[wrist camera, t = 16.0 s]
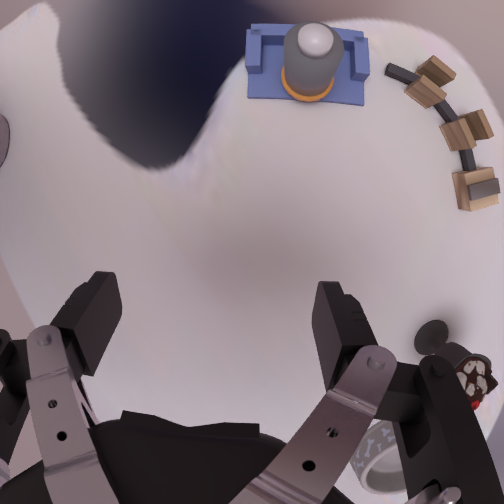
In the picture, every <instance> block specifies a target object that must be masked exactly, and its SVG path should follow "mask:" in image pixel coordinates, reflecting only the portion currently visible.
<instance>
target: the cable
mask: <svg viewBox="0 0 504 504" xmlns="http://www.w3.org/2000/svg"><path fill="white" fill-rule="evenodd" d="M385 74H386V75H388V76H391V77H393V78H395V79H398V80H400V81H402V82H405V83H407V84H409V85H410V84H411V83H412V82H414V81H415V80H416V79H418V78H419V77H421V76H419V75H417V74H415V73H413V72H410V71H408V70H406V69H404V68H401V67H399V66H397V65H394V64H392V63H389V64H388V65H387V67H386V71H385ZM434 106H435V107H436V108H437V110H438V111H439V112H440V114H441V115H442V116H443V118H444V119H445V120H446V122H447V123H449V122H452V121H455V120H459V118H458V116H457V115H456V113H455V112H454V111H453V109H452V108H451V107H450V105H449V104H448V103H447V102H446V100H445V99H444V100H443V101H441V102H439V103H437V104H435V105H434ZM460 153H461V157H462V162H463V166H464V171H472V170H477V169H476V165H475V160H474V156H473V151H472V149H464V150H460Z"/></svg>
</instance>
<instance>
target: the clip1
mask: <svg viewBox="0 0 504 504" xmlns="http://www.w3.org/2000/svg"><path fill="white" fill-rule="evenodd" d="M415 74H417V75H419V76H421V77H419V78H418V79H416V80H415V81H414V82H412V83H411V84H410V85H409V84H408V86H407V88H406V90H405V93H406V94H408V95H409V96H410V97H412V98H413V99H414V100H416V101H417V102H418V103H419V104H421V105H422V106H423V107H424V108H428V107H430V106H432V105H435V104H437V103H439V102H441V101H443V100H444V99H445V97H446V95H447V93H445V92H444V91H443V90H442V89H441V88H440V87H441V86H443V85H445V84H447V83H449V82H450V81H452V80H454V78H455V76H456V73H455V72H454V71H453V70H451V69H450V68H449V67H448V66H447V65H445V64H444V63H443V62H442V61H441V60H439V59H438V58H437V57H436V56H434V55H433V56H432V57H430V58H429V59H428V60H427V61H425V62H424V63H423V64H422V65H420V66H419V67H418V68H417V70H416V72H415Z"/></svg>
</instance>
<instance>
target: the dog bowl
mask: <svg viewBox="0 0 504 504" xmlns="http://www.w3.org/2000/svg"><path fill="white" fill-rule="evenodd" d="M350 464H351V466H352V468H353V470H354V471H355V473H356V475H357V477H358V479H359V481H360V483H361V485H362V487H363V488H364V489H365V490H366V491H368V492H370V493H373V494H378V495H392V494H398V493H403V492H406V491H407V489H406V484H405V479H404V474H403V469H402V465H401V460H400V456H399V451H398V447H397V443H396V438H395V434H394V430H393V426H392V422H391V421H385V420H381V421H379V422H378V423H376V424H375V425H373V426H372V427H371V428H369V429H368V430H367V431H366V433H365V435H364V437H363V438H362V440H361V442H360V444H359V445H358V447H357V449H356V450H355V452H354V454H353V456H352V457H351V459H350Z"/></svg>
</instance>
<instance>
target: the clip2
mask: <svg viewBox="0 0 504 504" xmlns="http://www.w3.org/2000/svg"><path fill="white" fill-rule="evenodd" d="M458 118H459V120H455V121H452V122H449V123H445V124H443V125H441V126H439V127H440V129H441V131H442V133H443V135H444V137H445V140H446V142H447V144H448V146H449V148H450V150H451V151H456V150H464V149H472V148H473V147H475V146H477V145H476V142H475V140H482V139H489V138H491V137H493V136H494V134H493V132H492V129H491V127H490V125H489V122H488V120H487V118H486V116H485V114H484V111H483V109H480V110H477V111H474V112H470V113H467V114H464V115H461V116H459V117H458Z"/></svg>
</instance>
